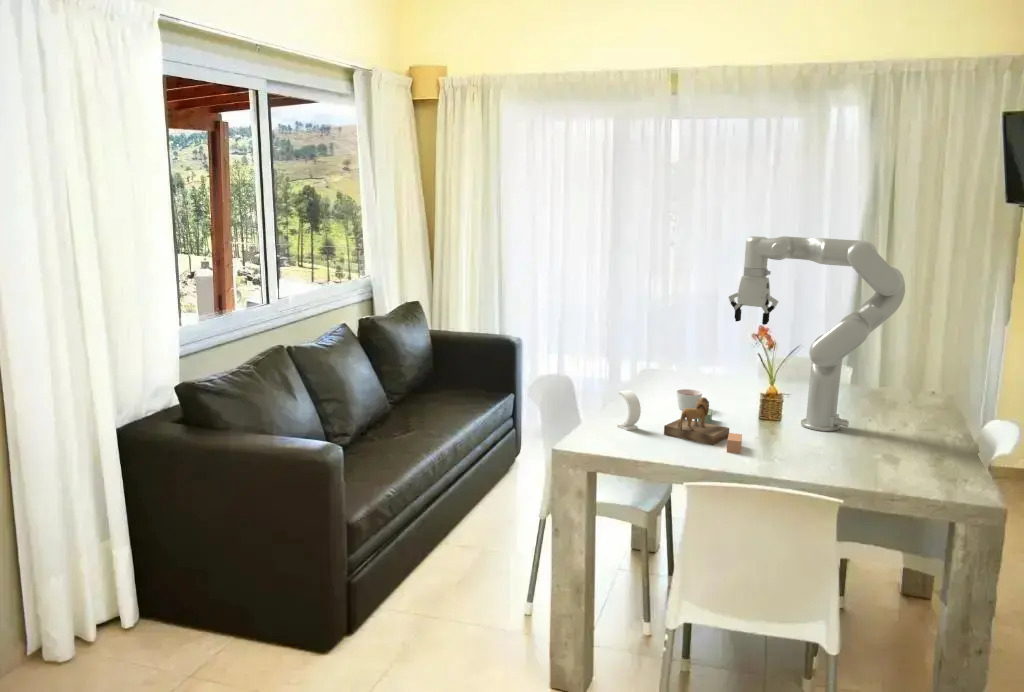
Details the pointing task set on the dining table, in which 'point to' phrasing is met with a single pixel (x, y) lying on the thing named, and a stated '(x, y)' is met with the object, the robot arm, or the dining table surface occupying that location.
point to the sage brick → (707, 417)
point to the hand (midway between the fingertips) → (751, 322)
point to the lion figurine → (695, 413)
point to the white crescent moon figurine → (631, 410)
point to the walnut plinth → (697, 432)
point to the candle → (688, 398)
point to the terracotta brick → (734, 443)
